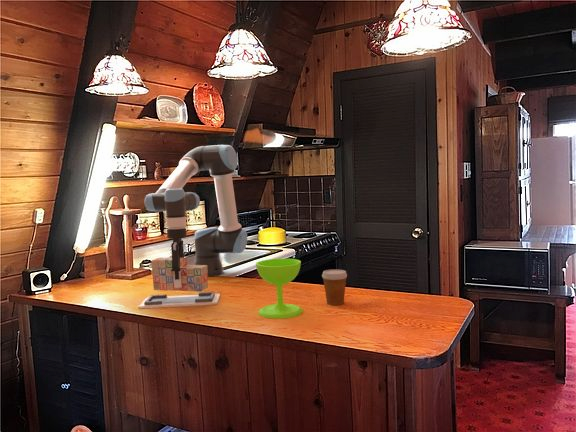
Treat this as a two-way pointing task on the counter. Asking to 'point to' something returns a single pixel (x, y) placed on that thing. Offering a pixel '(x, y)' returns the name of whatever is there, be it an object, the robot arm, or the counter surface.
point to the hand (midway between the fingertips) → (179, 284)
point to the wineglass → (279, 285)
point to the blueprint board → (180, 300)
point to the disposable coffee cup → (334, 286)
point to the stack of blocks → (190, 275)
